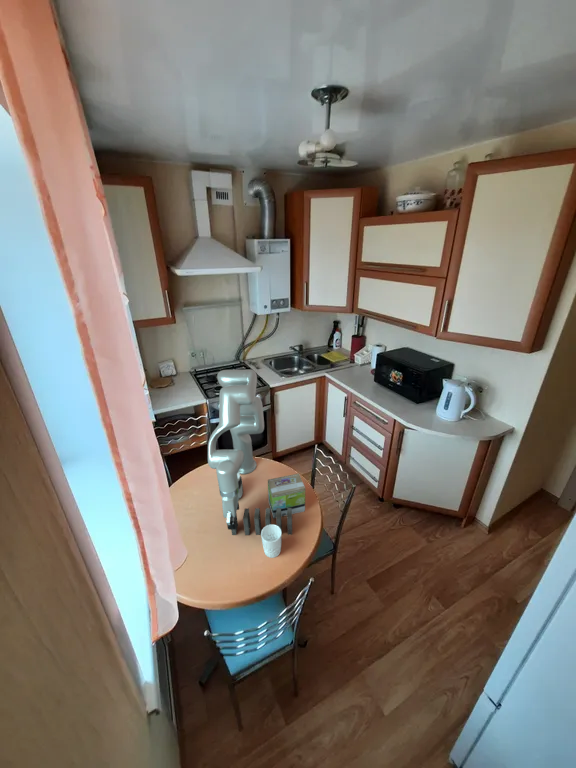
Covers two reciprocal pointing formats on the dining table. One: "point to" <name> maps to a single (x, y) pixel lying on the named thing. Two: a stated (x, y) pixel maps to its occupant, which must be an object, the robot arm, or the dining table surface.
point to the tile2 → (257, 521)
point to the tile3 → (268, 517)
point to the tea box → (286, 494)
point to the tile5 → (289, 520)
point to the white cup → (271, 540)
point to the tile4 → (279, 518)
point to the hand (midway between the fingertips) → (233, 518)
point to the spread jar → (240, 485)
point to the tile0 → (236, 525)
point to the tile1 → (246, 521)
